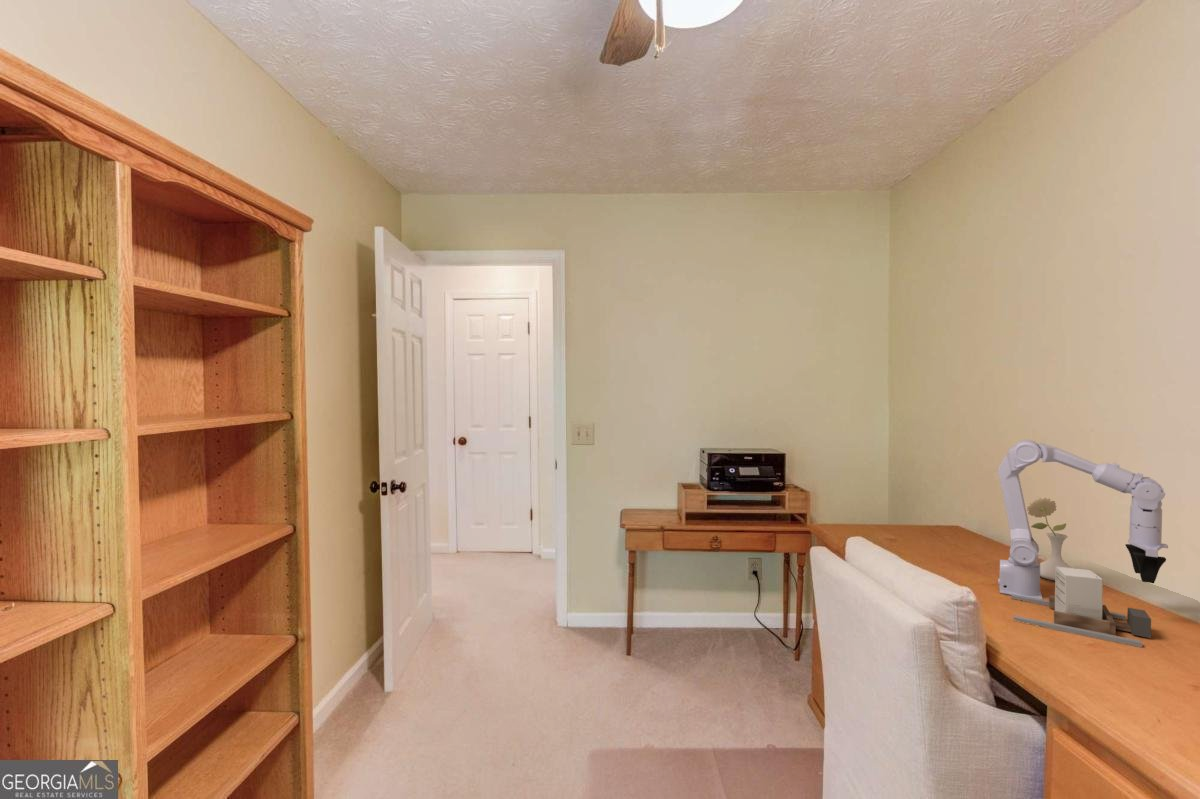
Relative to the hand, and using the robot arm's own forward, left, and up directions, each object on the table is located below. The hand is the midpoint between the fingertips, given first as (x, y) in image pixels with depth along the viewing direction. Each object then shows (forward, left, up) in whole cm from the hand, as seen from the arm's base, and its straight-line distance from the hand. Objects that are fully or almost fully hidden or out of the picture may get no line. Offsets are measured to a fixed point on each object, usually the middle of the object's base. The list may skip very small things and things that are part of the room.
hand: (1144, 577), depth 135 cm
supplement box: (-14, -13, -11) cm, 22 cm away
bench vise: (-10, -13, -10) cm, 19 cm away
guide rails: (-15, -13, -10) cm, 23 cm away
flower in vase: (-16, +23, -11) cm, 30 cm away
